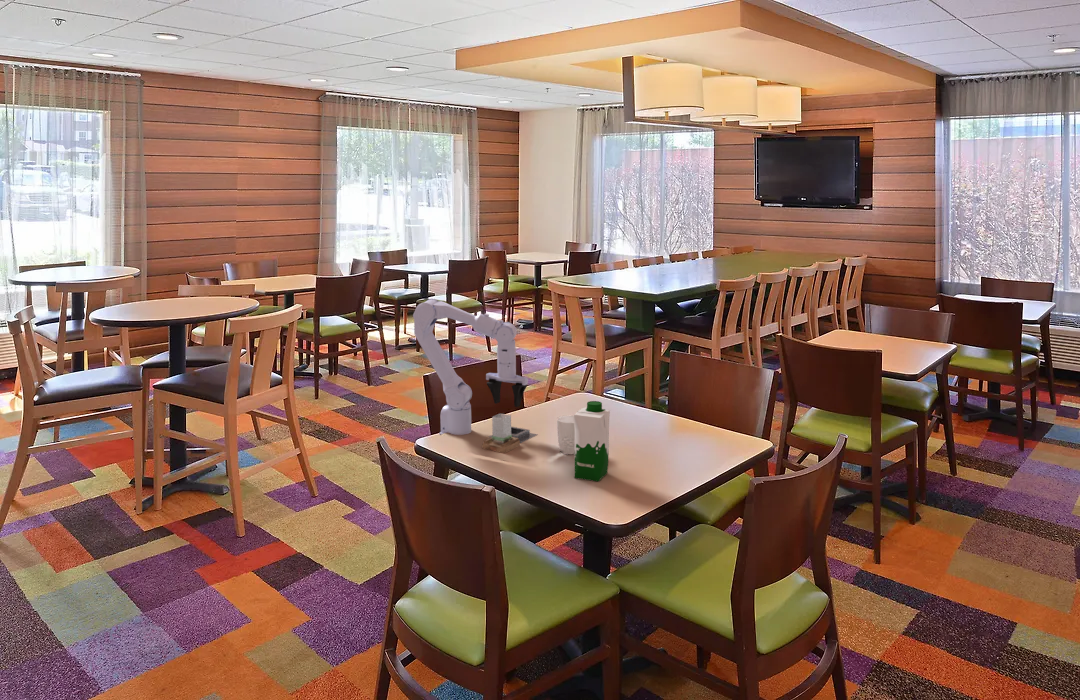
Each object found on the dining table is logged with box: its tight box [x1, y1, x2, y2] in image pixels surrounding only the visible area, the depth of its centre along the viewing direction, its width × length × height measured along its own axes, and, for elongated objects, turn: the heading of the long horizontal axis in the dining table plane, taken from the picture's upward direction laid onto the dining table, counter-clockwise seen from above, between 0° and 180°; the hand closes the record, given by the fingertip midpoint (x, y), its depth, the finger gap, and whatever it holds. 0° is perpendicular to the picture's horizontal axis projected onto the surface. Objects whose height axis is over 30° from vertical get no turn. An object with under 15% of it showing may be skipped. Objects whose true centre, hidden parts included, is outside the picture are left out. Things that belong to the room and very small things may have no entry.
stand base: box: [488, 426, 538, 444], centre depth 246 cm, size 12×10×2 cm
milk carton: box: [573, 400, 611, 482], centre depth 212 cm, size 9×9×20 cm
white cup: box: [556, 414, 575, 455], centre depth 233 cm, size 8×8×10 cm
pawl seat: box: [482, 437, 521, 454], centre depth 235 cm, size 8×8×3 cm
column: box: [491, 413, 512, 444], centre depth 234 cm, size 4×4×8 cm
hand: (507, 404), depth 246 cm, fingers open, 7 cm apart
